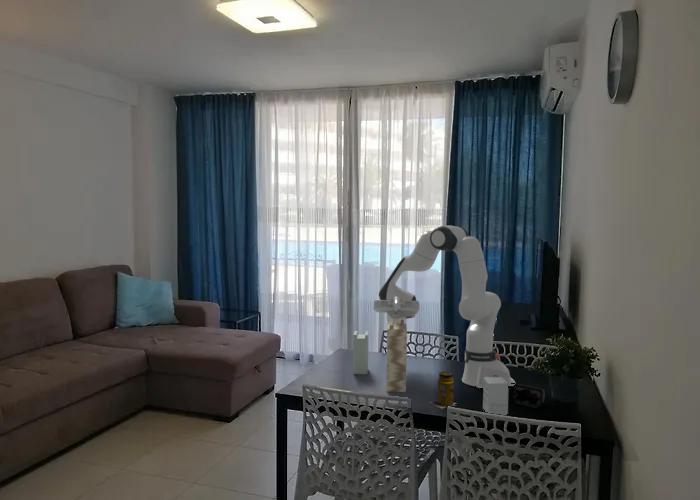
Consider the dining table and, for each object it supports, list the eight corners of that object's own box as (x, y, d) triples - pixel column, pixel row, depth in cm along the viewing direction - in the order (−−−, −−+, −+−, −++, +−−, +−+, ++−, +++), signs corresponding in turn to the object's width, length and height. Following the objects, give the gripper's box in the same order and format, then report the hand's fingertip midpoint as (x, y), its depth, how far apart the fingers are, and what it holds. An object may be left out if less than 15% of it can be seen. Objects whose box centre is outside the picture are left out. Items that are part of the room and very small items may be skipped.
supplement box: (501, 409, 197) (502, 376, 196) (508, 417, 190) (509, 383, 189) (482, 409, 197) (483, 376, 196) (487, 417, 189) (488, 383, 189)
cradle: (368, 369, 247) (368, 331, 245) (367, 374, 239) (367, 335, 237) (354, 368, 247) (354, 330, 246) (353, 374, 239) (353, 334, 238)
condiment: (458, 404, 202) (458, 374, 201) (441, 409, 197) (442, 377, 196) (444, 399, 208) (445, 369, 207) (428, 403, 203) (429, 372, 202)
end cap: (544, 404, 203) (545, 387, 202) (538, 409, 197) (539, 392, 197) (519, 398, 209) (519, 382, 208) (512, 403, 203) (513, 386, 203)
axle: (393, 303, 233) (393, 296, 233) (399, 303, 233) (400, 296, 233) (393, 312, 213) (393, 304, 213) (400, 312, 213) (401, 305, 213)
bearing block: (405, 382, 227) (405, 319, 225) (405, 392, 215) (406, 325, 213) (386, 382, 228) (387, 319, 226) (386, 391, 216) (387, 325, 214)
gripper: (373, 303, 244) (373, 293, 231) (418, 304, 242) (419, 293, 230) (373, 316, 241) (372, 306, 229) (418, 317, 240) (420, 307, 227)
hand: (396, 300), depth 229 cm, fingers closed on axle, 3 cm apart
